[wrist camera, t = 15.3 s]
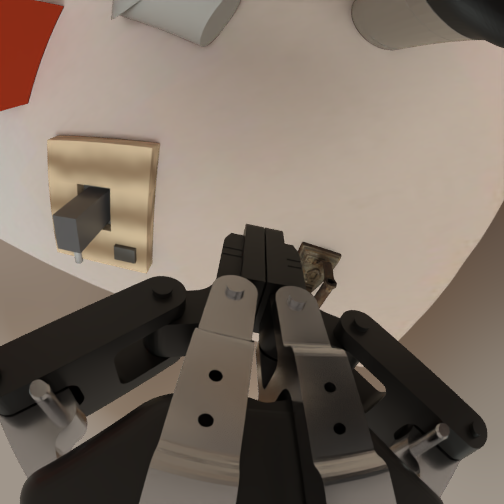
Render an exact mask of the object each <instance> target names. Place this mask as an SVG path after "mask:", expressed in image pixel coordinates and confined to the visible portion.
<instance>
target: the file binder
mask: <svg viewBox="0 0 504 504" xmlns="http://www.w3.org/2000/svg"><path fill="white" fill-rule="evenodd" d="M63 7H64V6H60V5H55V4H51V3H46V2H41V1H35V0H0V111H3V110H6V109H9V108H13V107H16V106H20V105H24V104H28V101H29V97H30V94H31V90H32V86H33V83H34V80H35V76H36V73H37V70H38V67H39V64H40V61H41V58H42V56H43V53H44V50H45V48H46V45H47V42H48V40H49V38H50V35H51V33H52V31H53V28H54V26H55V24H56V22H57V19H58V17H59V15H60V13H61V11H62V9H63Z"/></svg>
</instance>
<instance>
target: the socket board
mask: <svg viewBox="0 0 504 504" xmlns="http://www.w3.org/2000/svg"><path fill="white" fill-rule="evenodd" d="M159 147H160V143H152V142H143V141H134V140H124V139H113V138H100V137H83V136H56V137H54V138H51V139H49V140H47V150H48V178H49V192H50V202H51V211H52V215H53V214H54V213H56V212H57V211H58V210H59V209H60V208H62V207H63V206H64V205H65V204H67V203H68V202H69V201H71V200H72V199H73V198H74V197H76V196H77V195H78V194H80V193H81V192H82V191H84V190H85V189H86V188H88V187H98V188H106V189H110V214H111V220H110V221H109V222H108V223H107V225H106V226H105V227H104V228H103V229H102V230H101V231H100V232H99V233H98V234H97V235H96V237H95V238H94V239H93V240H92V241H91V242H90V243H89V245H88V246H87V247H86V248H85V249H84V250H83V252H82V257H83V258H84V259H88V260H92V261H96V262H100V263H104V264H108V265H112V266H116V267H121V268H125V269H129V270H134V271H138V272H142V273H147V272H148V270H149V268H150V266H151V264H152V245H153V219H154V202H155V188H156V176H157V165H158V156H159ZM52 219H53V217H52ZM53 226H54V223H53ZM54 233H55V229H54ZM55 239H56V235H55ZM56 245H57V240H56ZM57 251H58V252H60V253H64V254H68V255H72V256H74V252H71V251H67V250H63V249H58V246H57Z"/></svg>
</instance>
